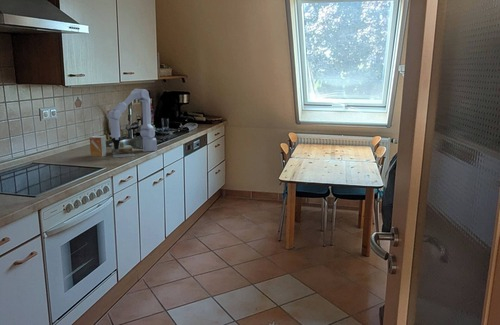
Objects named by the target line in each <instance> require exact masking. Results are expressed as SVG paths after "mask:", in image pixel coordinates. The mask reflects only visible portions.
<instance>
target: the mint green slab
mask: <svg viewBox="0 0 500 325" xmlns="http://www.w3.org/2000/svg"><path fill="white" fill-rule="evenodd" d="M110 147H111V148H112V150H113V148H114V147H113V145H111V146H110ZM129 148H132V149H133V146H132V145H128V144H127V145H125V144H124V142H123V141H120V142H119V148H118V149H129ZM112 150H111V151H112Z"/></svg>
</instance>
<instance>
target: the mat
mask: <svg viewBox="0 0 500 325" xmlns="http://www.w3.org/2000/svg"><path fill="white" fill-rule="evenodd" d="M112 157H113V159H120V158H131V157H136V155H135V154H134V153H133V152H132V153H130V154H117V155H113V154H112Z"/></svg>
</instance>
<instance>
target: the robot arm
mask: <svg viewBox="0 0 500 325" xmlns="http://www.w3.org/2000/svg"><path fill="white" fill-rule="evenodd" d="M149 93H150V92H149V91H148V90H147V89H146V88H145V89H144V88H133V90H131V92H130V94H129V95H128V96H127V97H126V99H124V101H123V102H118V103H117V105H116V106H115V107H113V108H112V109H111V110H109V111H108V113H107V117H108V119H109V126H110V135H108V136H109V137H111V138H110V139H111V141H112V143H113V144H114V148H115V149H118V148H119V146H120V143H119V142H121V137H122V136H121V129H120V128H121V127H120V125H121V124H120V118H121V117H122V114H123V113H125V111H126V110H127V109H128V106H129V105H130V104H131V103H132V102H133V101H134V100H139V101H140V102H141V104H142V106H141V107H142V108H141V109H142V125H141V126H140V131H139V134H140V137H141V138H142V149H141V150H142V152H143V153H144V152H156V151H158V146H157V145H158V144H157V138H156V137H155V135H156V132H155V127H154V126H153V125H152V117H151V116H152V114H151V113H152V112H151V111H152V110H151V108H152V107H151V98H150V94H149Z"/></svg>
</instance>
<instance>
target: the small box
mask: <svg viewBox="0 0 500 325" xmlns="http://www.w3.org/2000/svg"><path fill="white" fill-rule="evenodd" d="M89 146H90V156H91V157H100V158H103V157H104V156H107V144H106V135H105V136H104V135H93V136H90V137H89Z"/></svg>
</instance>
